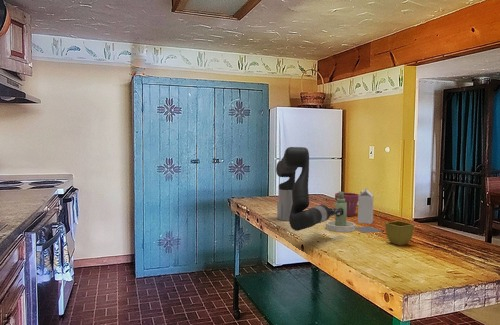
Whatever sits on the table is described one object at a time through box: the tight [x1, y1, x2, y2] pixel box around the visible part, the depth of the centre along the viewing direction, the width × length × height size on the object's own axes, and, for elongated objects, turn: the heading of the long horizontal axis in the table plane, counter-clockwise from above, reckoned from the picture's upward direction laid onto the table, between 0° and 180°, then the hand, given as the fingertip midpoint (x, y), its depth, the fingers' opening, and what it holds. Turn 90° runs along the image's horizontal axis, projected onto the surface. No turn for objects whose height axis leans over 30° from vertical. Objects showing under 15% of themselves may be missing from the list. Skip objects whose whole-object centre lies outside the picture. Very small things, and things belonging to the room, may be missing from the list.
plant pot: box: [334, 192, 360, 217], centre depth 228 cm, size 14×14×13 cm
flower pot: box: [384, 220, 415, 246], centre depth 165 cm, size 9×9×9 cm
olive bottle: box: [334, 191, 348, 226], centre depth 190 cm, size 6×6×18 cm
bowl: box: [325, 220, 357, 233], centre depth 191 cm, size 14×14×3 cm
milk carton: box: [357, 187, 374, 225], centre depth 207 cm, size 7×7×19 cm
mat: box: [355, 226, 384, 234], centre depth 189 cm, size 11×11×1 cm
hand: (333, 209), depth 182 cm, fingers open, 8 cm apart
